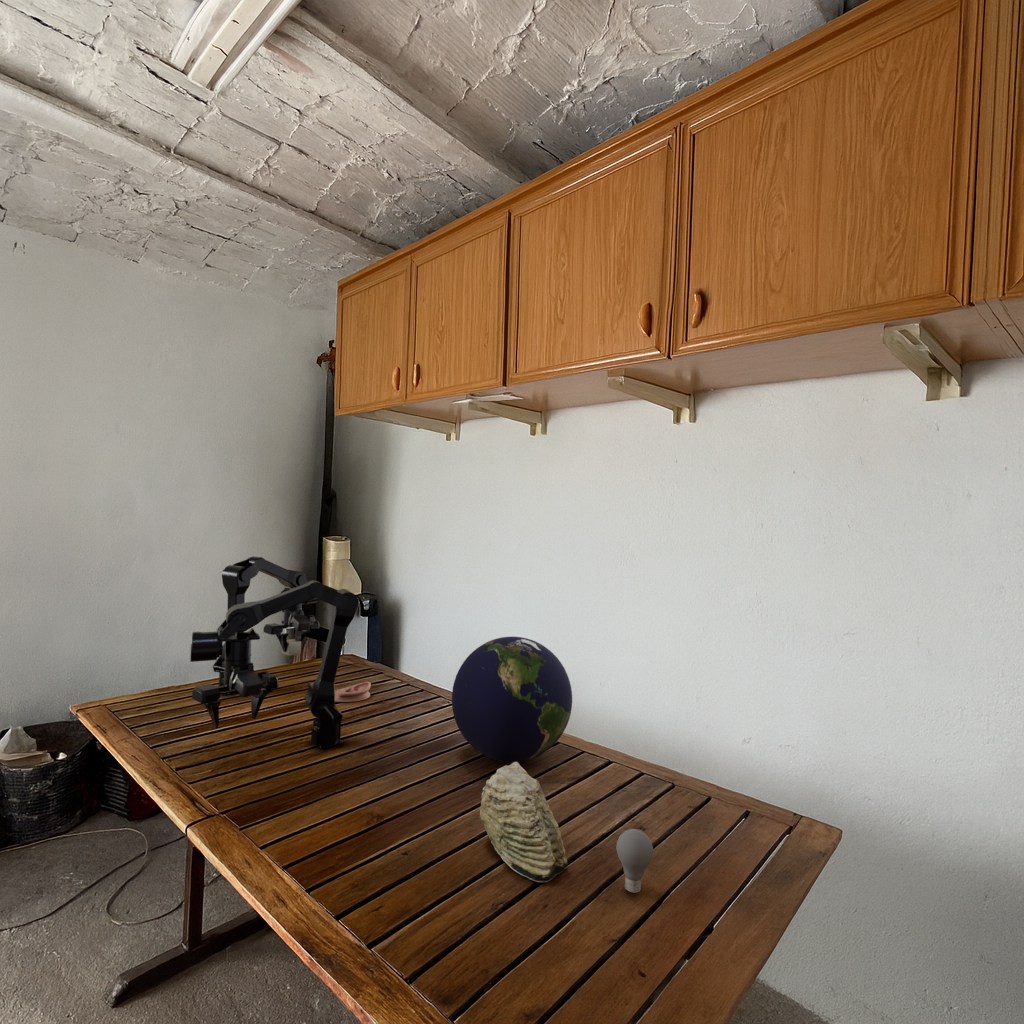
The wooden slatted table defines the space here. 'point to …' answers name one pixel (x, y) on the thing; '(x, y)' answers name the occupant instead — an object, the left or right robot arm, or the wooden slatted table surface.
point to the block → (292, 647)
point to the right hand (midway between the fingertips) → (235, 722)
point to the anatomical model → (353, 693)
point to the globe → (512, 699)
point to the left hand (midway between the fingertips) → (291, 650)
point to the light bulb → (634, 857)
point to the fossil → (522, 824)
